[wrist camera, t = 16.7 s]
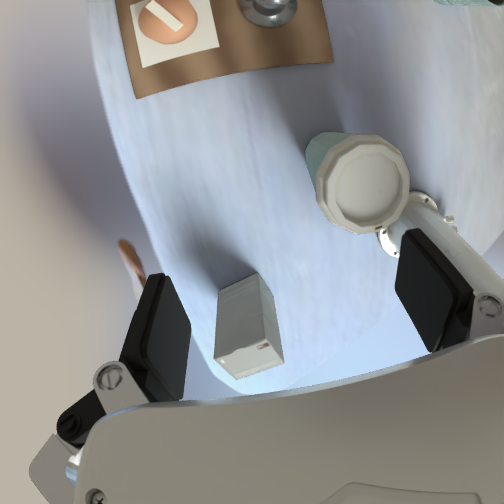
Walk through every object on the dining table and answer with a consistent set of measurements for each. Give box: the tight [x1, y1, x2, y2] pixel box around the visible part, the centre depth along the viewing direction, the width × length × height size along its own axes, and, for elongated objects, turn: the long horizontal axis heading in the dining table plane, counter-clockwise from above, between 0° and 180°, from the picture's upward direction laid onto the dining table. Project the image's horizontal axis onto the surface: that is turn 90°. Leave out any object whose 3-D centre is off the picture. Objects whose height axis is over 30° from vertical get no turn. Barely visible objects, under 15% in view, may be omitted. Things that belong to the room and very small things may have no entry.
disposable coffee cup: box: [305, 132, 410, 235], centre depth 32 cm, size 11×11×15 cm
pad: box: [130, 0, 219, 68], centre depth 26 cm, size 10×10×1 cm
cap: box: [138, 0, 198, 45], centre depth 24 cm, size 6×6×5 cm
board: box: [115, 0, 334, 99], centre depth 26 cm, size 26×18×1 cm
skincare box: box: [213, 273, 284, 380], centre depth 44 cm, size 8×7×16 cm
